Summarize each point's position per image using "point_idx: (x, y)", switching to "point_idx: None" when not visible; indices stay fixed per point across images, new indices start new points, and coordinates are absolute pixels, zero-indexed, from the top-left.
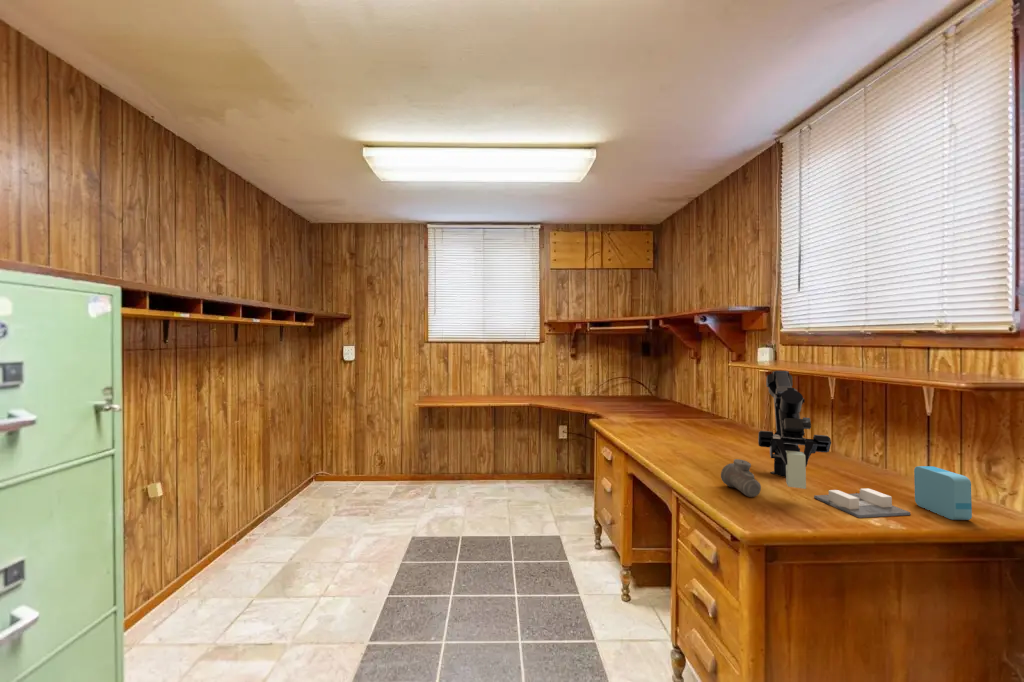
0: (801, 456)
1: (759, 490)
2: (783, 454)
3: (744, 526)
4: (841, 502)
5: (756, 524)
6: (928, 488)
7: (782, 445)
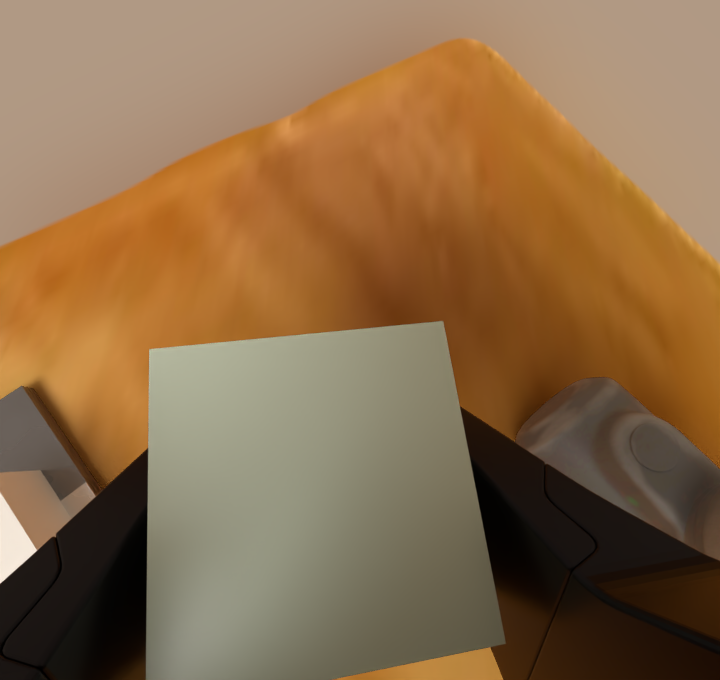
0: (223, 350)
1: (520, 434)
2: (498, 444)
3: (489, 69)
4: (57, 520)
5: (457, 102)
6: None
7: (640, 592)
